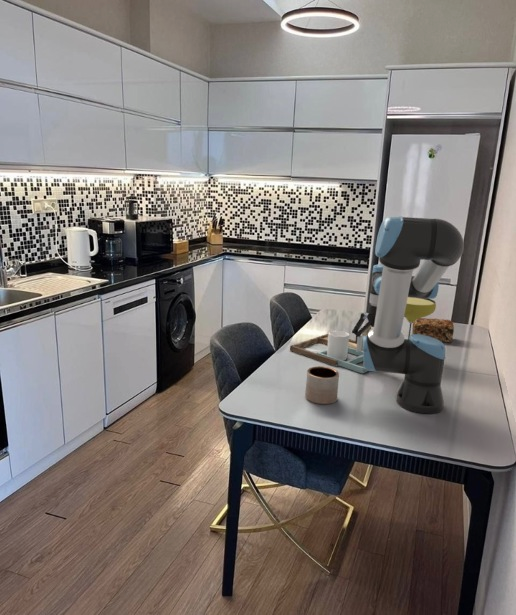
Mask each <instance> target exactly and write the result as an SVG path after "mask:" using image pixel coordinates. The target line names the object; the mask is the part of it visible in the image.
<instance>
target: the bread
mask: <svg viewBox="0 0 516 615" xmlns="http://www.w3.org/2000/svg"><path fill="white" fill-rule="evenodd" d="M411 329H412V331H411V332H412V333H411V335H412V334H420V335H425V336H429V337H432V338H435V339H437V340H439V341H441V342H442V343H449V344H450V343H452V341H453V337H454V331H455V327H454V322H453V321H452V320H449V319H445V318H426V317H422V318H419V319H417V320H416V321H415V322H413V323H412V326H411Z"/></svg>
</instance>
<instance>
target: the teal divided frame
mask: <svg viewBox="0 0 516 615" xmlns="http://www.w3.org/2000/svg"><path fill="white" fill-rule="evenodd" d="M316 353H317V354H320V355H323V356H325V357H328V358H331V359H334V360H337V366H338V367H339V366H340V367H342V368H345V369H347V370H351V371H354V372H357V373H360V374H364V373H367V372H368V371H369V370H366V369H365V368H364V366H362V365H361V366H360V365H358V364H359V363H361V362H363V351H359V352H356V349H354V348H351V347H348V353H349V354H351V355H355V356H356V357H354V358H352V359H349V360H347V361H346V360H340V359H337V358H334V357H331V356H328V355H327V348H326V349H323V350H321V351H318V352H316ZM348 353H347V354H348Z"/></svg>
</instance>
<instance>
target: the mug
mask: <svg viewBox="0 0 516 615" xmlns="http://www.w3.org/2000/svg"><path fill="white" fill-rule="evenodd" d="M327 334H328V345H326V346H327V347H326V349H327V355H328V356H331V357H334V358H337V359H340V360H343V361H346V360H347V358H348V343H349V339H350V333H348V332H346V331H343V330H330V331H329V332H328V333H327Z"/></svg>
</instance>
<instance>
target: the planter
mask: <svg viewBox="0 0 516 615" xmlns="http://www.w3.org/2000/svg"><path fill="white" fill-rule="evenodd" d="M339 378H340V372H339V371H338V370H336V369H335V368H332V367H329V366H322V365H321V366H320V365H319V366H312V367H309V368H308V369H307V371H306V382H305V392H304V393H305V394H304V395H305V398H306V399H307V400H308V401H310V402H311V403H313V404H317V405H329V404H330V405H331V404H333V403H335V402H336V401H337V399H338V393H339V381H340V380H339Z"/></svg>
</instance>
